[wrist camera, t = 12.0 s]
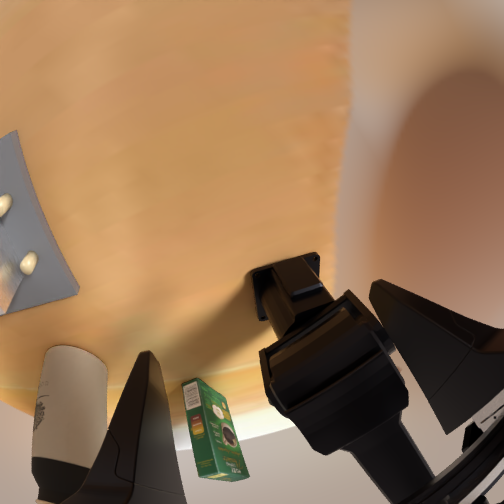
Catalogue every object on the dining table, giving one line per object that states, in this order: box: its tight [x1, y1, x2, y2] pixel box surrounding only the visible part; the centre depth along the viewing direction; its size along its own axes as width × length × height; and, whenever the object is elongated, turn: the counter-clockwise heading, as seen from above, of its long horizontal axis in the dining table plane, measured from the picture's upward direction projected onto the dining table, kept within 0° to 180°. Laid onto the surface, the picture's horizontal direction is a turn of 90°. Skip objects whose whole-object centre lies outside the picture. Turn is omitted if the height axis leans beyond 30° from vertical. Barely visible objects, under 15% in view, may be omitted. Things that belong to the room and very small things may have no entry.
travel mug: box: [32, 345, 108, 504], centre depth 17 cm, size 8×8×18 cm
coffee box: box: [182, 378, 250, 482], centre depth 27 cm, size 8×3×13 cm, turn 23°
